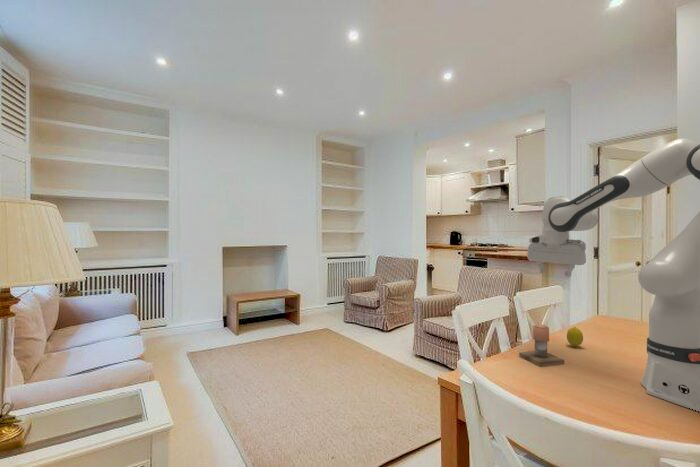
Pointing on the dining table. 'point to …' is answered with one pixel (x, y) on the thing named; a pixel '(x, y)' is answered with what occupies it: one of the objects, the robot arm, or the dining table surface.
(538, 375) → the dining table surface
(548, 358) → the stud base
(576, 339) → the lemon
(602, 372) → the dining table surface
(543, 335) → the cap
